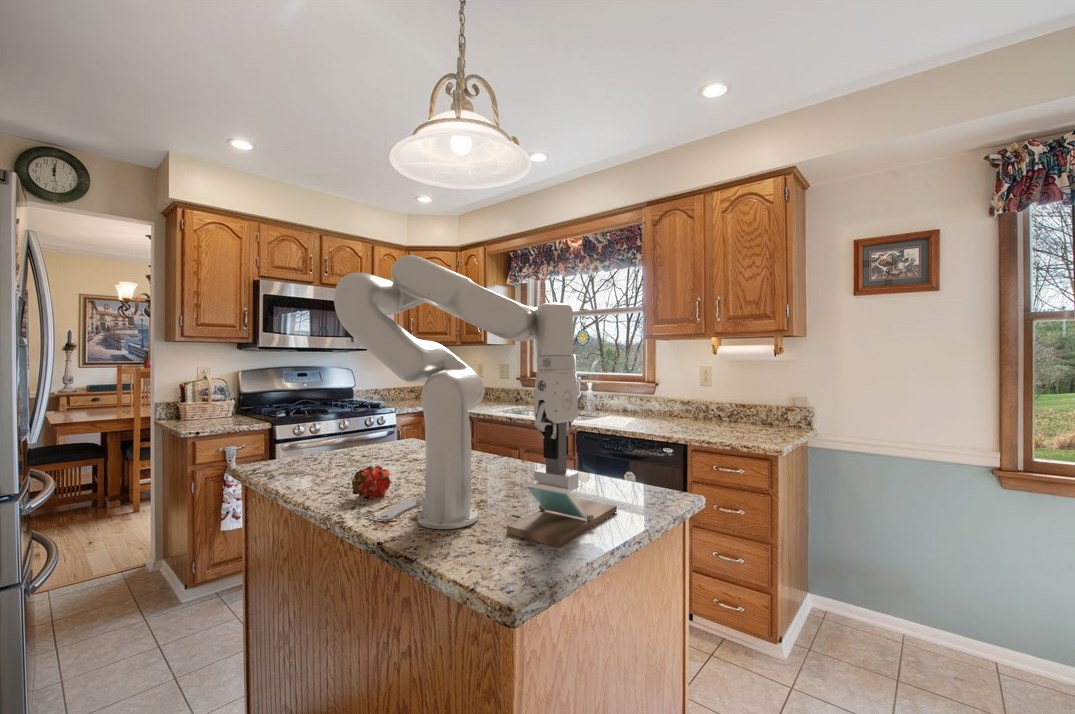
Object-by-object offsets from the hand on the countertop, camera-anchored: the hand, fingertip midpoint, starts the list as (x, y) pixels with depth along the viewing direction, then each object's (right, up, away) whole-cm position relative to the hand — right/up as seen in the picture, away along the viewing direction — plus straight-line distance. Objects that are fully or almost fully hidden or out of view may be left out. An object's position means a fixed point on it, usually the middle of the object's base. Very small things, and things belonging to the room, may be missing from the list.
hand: (556, 455), depth 96 cm
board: (+2, -15, +4) cm, 15 cm away
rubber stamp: (0, -6, 0) cm, 6 cm away
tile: (0, -9, +1) cm, 9 cm away
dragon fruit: (-44, -15, +21) cm, 51 cm away
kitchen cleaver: (-34, -15, +15) cm, 40 cm away
